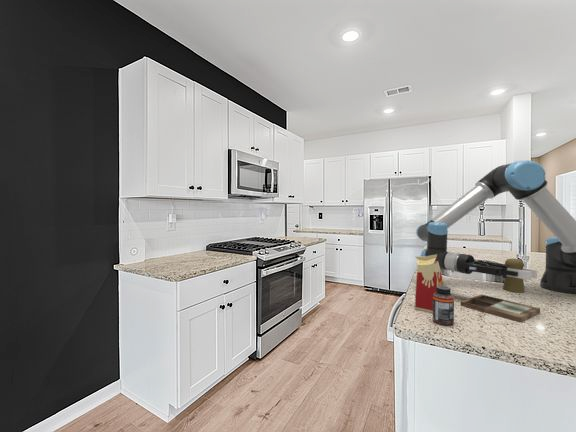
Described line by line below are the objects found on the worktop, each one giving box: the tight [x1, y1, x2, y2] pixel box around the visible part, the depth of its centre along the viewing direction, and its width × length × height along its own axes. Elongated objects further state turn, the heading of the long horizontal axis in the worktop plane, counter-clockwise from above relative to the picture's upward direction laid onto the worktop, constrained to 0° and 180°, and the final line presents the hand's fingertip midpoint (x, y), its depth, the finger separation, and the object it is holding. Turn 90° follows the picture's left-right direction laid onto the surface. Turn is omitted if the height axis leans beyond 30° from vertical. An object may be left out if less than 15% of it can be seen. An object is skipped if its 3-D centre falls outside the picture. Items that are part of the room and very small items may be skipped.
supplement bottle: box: [432, 285, 455, 326], centre depth 92 cm, size 6×6×11 cm
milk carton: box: [414, 254, 445, 314], centre depth 104 cm, size 9×9×20 cm
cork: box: [502, 258, 526, 294], centre depth 99 cm, size 6×6×11 cm
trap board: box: [460, 294, 541, 323], centre depth 104 cm, size 16×18×2 cm
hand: (533, 275), depth 95 cm, fingers closed on cork, 4 cm apart
